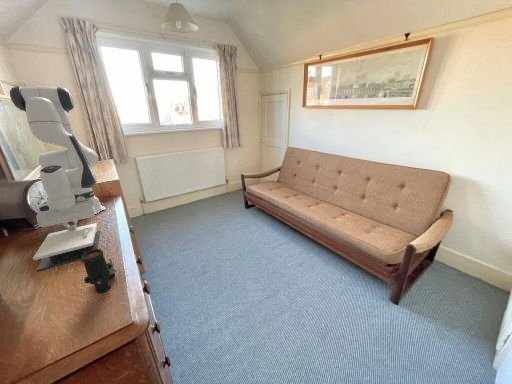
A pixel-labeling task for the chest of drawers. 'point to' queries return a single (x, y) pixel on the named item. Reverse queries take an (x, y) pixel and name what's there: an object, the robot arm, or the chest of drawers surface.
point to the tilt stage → (66, 241)
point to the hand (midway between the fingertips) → (73, 229)
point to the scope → (98, 270)
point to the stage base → (67, 256)
